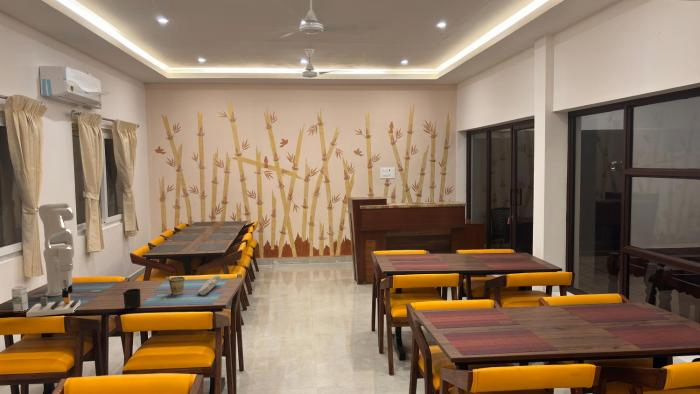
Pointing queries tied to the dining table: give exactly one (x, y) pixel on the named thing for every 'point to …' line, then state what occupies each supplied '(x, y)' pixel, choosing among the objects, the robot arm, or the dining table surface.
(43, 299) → the on breaker
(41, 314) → the breaker panel
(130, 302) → the pen holder
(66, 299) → the breaker
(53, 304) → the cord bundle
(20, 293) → the syrup box
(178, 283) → the ceramic cup
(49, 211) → the robot arm
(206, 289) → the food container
